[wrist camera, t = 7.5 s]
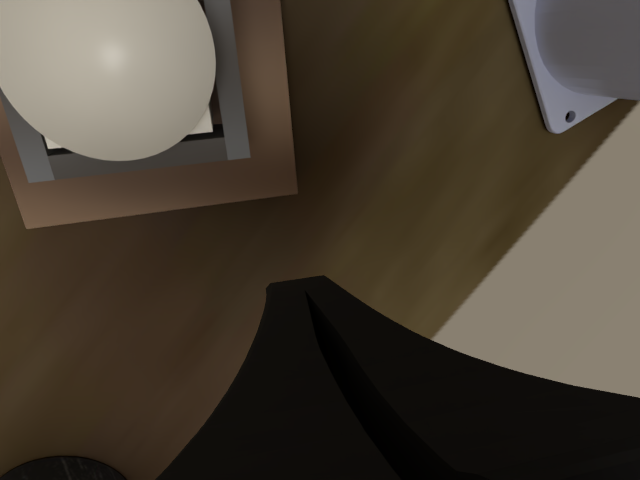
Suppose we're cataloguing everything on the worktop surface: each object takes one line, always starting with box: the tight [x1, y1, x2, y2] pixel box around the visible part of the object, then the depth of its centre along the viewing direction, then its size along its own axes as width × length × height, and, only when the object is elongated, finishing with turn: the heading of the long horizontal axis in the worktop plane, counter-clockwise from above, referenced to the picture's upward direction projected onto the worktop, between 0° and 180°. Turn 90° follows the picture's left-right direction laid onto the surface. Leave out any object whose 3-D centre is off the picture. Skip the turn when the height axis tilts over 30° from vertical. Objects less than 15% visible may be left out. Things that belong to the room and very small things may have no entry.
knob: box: [0, 0, 216, 161], centre depth 13 cm, size 5×5×4 cm
